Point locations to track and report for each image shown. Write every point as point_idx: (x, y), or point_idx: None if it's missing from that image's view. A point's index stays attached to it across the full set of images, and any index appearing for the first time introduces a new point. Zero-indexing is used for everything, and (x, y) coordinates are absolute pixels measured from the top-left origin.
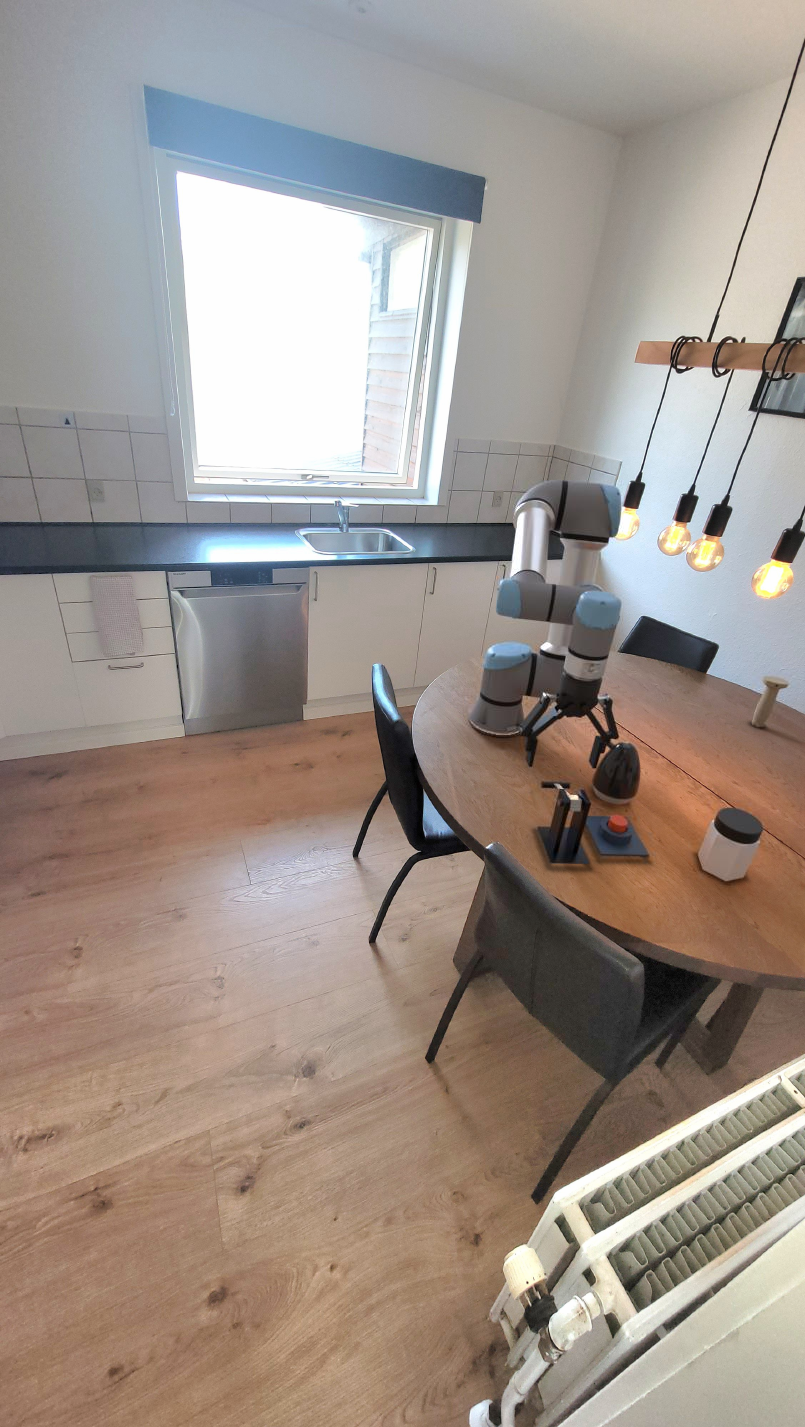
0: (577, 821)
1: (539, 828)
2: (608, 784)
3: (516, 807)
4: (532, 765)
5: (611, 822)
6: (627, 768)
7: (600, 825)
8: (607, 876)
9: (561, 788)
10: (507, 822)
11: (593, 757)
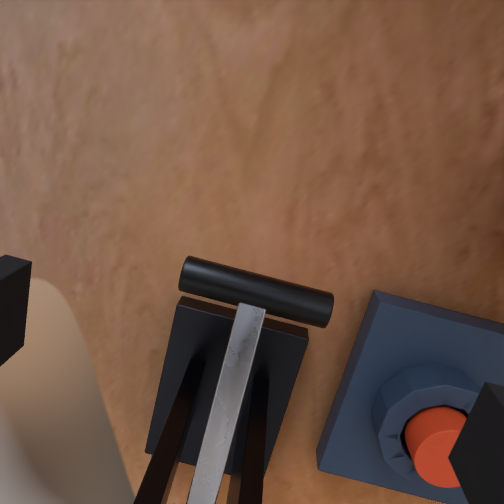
0: (230, 499)
1: (181, 316)
2: None
3: (169, 155)
4: (14, 353)
5: (413, 454)
6: None
7: (384, 408)
8: (300, 499)
9: (231, 386)
10: (101, 229)
11: (492, 492)
